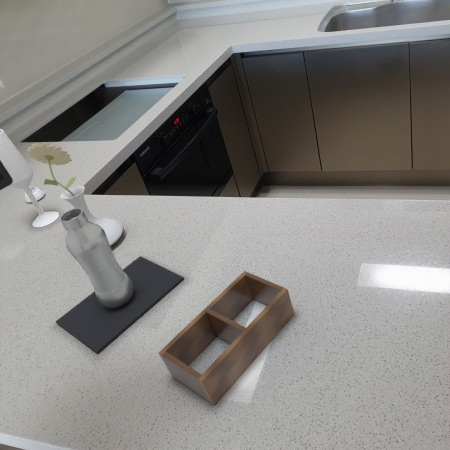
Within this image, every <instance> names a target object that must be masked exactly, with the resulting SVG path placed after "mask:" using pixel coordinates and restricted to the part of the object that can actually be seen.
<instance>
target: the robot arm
mask: <svg viewBox="0 0 450 450" xmlns="http://www.w3.org/2000/svg"><path fill="white" fill-rule="evenodd" d="M12 182H13V179H12V177H11V176H10V174H9V173H8V171H7V170H6V168H5V167H4V165H3V163H2V162H1V160H0V191H2V190H3V189H5V188H8V187H10V186H9V185H11V184H12Z"/></svg>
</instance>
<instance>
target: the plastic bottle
mask: <svg viewBox="0 0 450 450" xmlns="http://www.w3.org/2000/svg"><path fill="white" fill-rule="evenodd" d="M59 221H60V223H61V224H62V227H63V229H64V230H65V231H67V232H66V237H65V246H66V249H67V251H68V252H69V254H70V255H71V256H72V257H73V258H74V259H75V260H76V262H77V263H78V264H79V265H80V266H81V268H82V270H83V271H84V272H85V274H86V275H87V277H88V278H89V281H90V283H91V286H92V287H93V290H94V291H95V294H96V296H97V299H98V300H99V302H100V303H101V304H102V305H103V306H105V307H109V308H117V307H120V306H122V305H124V304H125V303H127V302H128V301H129V300H130V299H131V297H132V295H133V291H134V287H133V283H132V281H131V279H130V278H129V276H128V275H127V274H126V273H125V272H124V271H123V269H124V268H122V266H121V265H120V263H119V262H118V261H117V259H116V257H115V254H114V252H113V250H112V247H111V246H110V245H109V242H108V239H107V236H106V233H105V231H104V229H102V228H101V227H100V226H99V225H97V224H95V223H93V222H90V221H88V218H87V216H86V215H85V214H84V212H83V210H82V209H80V208H71V209H69V210H67V211H65V212H63V214H62V215H61V216H60V217H59Z"/></svg>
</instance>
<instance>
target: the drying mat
mask: <svg viewBox="0 0 450 450" xmlns="http://www.w3.org/2000/svg"><path fill="white" fill-rule="evenodd" d="M122 269H123V271H124V272H125V273H126V274H127V275H128V276H129V278H130V279H131V281H132V283H133V287H134V291H133V295H132V297H131V299H130V300H129V301H128V302H127V303H125V304H124V305H122V306H120V307H117V308H109V307H105V306H103V305H102V304H101V303H100V302H99V300H98V299H97V296H96V294H95V290H94V291H93V292H92V293H91V294H89V295H88V296H86V297H85V298H84V299H83V300H81V301H80V302H79V303H77V304H75V306H74V307H72V308H71V309H69V310H68V311H67V312H66V313H64V314H63V315H62V316H60V317H59V318H57V319H56V321H55V323H56V324H57V325H58V326H59V327H60V328H62V329H63V330H64V331H66V332H67V333H68V334H70V335H71V336H72V337H74V338H75V339H77V340H78V341H79V342H80V343H82V344H83V345H85V346H86V347H87V348H88V349H90V350H91V351H92V352H94V353H95V354H97V355H99V354H100V353H102V351H104V350H105V349H106V348H107V347H108V346H110V344H112V343H113V342H114V341H115V340H116V339H118V337H119V336H121V335H122V334H124V333H125V331H127V330H128V329H129V328H130V327H131V326H132V325H133V324H134V323H136V322H137V321H138V320H139V319H141V318H142V317H143V316H144V315H145V314H146V313H147V312H149V310H151V309H152V308H153V307H154V306H155V305H157V304H158V303H159V302H160V301H161V300H162V299H163V298H164V297H166V296H167V295H168V294H169V293H171V292H172V290H174V289H175V288H176V287H177V286H179V285H180V284H181V283H182V282H184V280H185V278H184V276H182V275H180V274H178V273H176V272H174V271H172V270H170V269H168V268H166V267H164V266H162V265H160V264H158V263H155V262H153V261H151V260H149V259H147V258H145V257H144V256H141V255H140V256H139V257H137V258H136V259H135V260H133V261H132V262H131V263H129V264H128V265H127V266H125V267H124V268H122Z"/></svg>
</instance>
